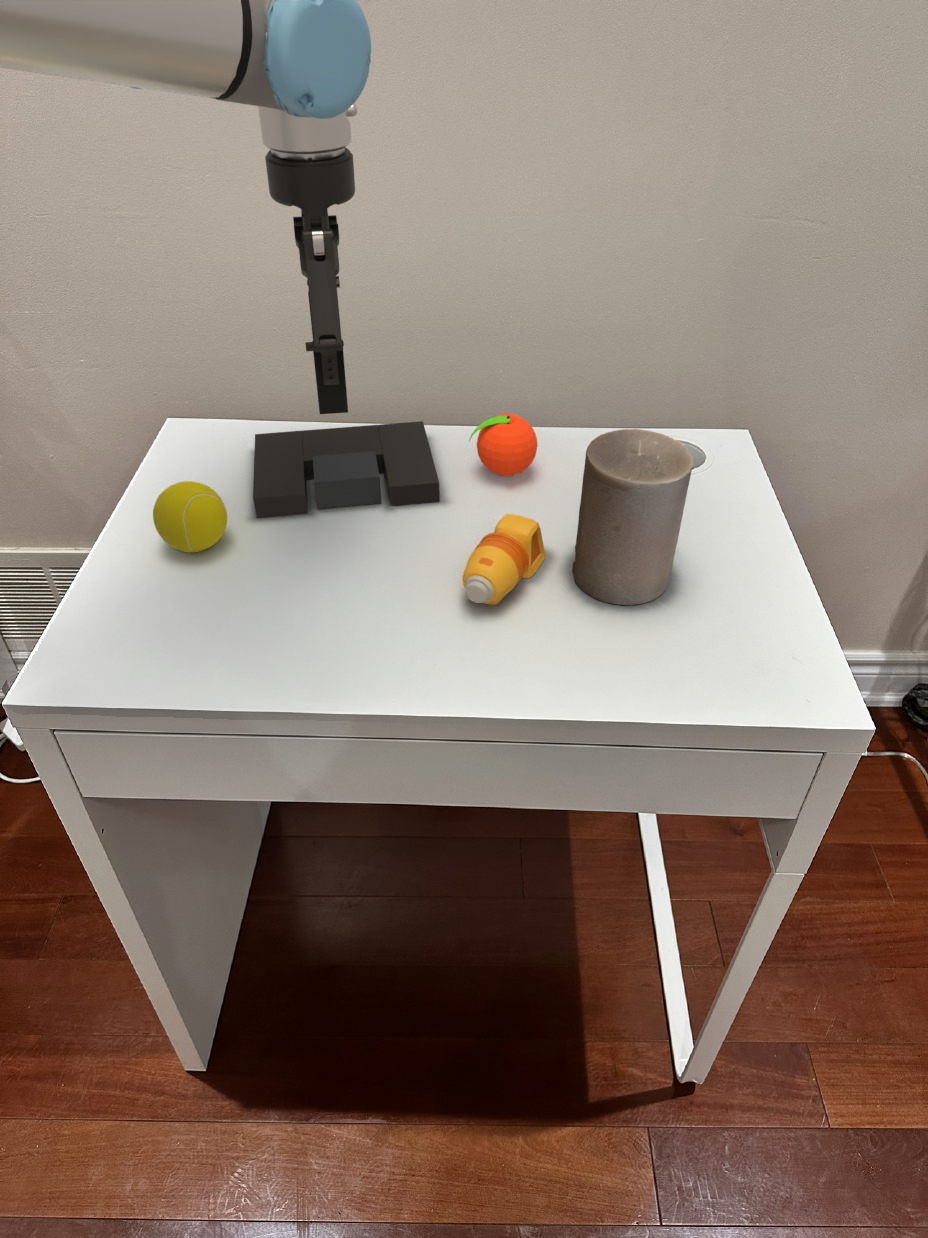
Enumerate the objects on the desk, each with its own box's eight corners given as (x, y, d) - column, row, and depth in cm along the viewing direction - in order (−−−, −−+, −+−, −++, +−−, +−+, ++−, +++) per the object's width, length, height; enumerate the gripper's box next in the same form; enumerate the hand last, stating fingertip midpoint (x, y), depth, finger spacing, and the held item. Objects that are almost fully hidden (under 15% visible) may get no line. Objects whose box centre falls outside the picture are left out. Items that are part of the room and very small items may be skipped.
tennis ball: (245, 540, 92) (234, 483, 87) (193, 573, 87) (178, 515, 83) (201, 518, 95) (187, 461, 90) (148, 548, 91) (131, 491, 86)
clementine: (475, 492, 99) (476, 435, 94) (461, 461, 104) (461, 406, 99) (543, 483, 100) (547, 427, 96) (525, 452, 105) (528, 398, 101)
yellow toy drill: (501, 625, 82) (549, 554, 90) (502, 579, 78) (552, 510, 86) (449, 609, 84) (501, 541, 92) (448, 563, 80) (502, 496, 88)
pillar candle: (552, 568, 88) (563, 435, 78) (623, 535, 93) (642, 405, 83) (619, 620, 82) (640, 482, 72) (691, 582, 87) (721, 448, 77)
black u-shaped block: (256, 518, 95) (252, 498, 93) (258, 452, 105) (255, 433, 104) (439, 501, 97) (439, 482, 96) (423, 439, 108) (422, 420, 106)
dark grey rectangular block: (317, 509, 96) (314, 481, 94) (315, 482, 100) (312, 455, 98) (381, 503, 97) (379, 476, 95) (377, 477, 101) (375, 450, 99)
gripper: (363, 186, 66) (378, 437, 80) (343, 116, 85) (358, 329, 99) (263, 189, 65) (295, 443, 79) (265, 118, 84) (290, 333, 98)
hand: (330, 380), depth 89 cm, fingers open, 13 cm apart
